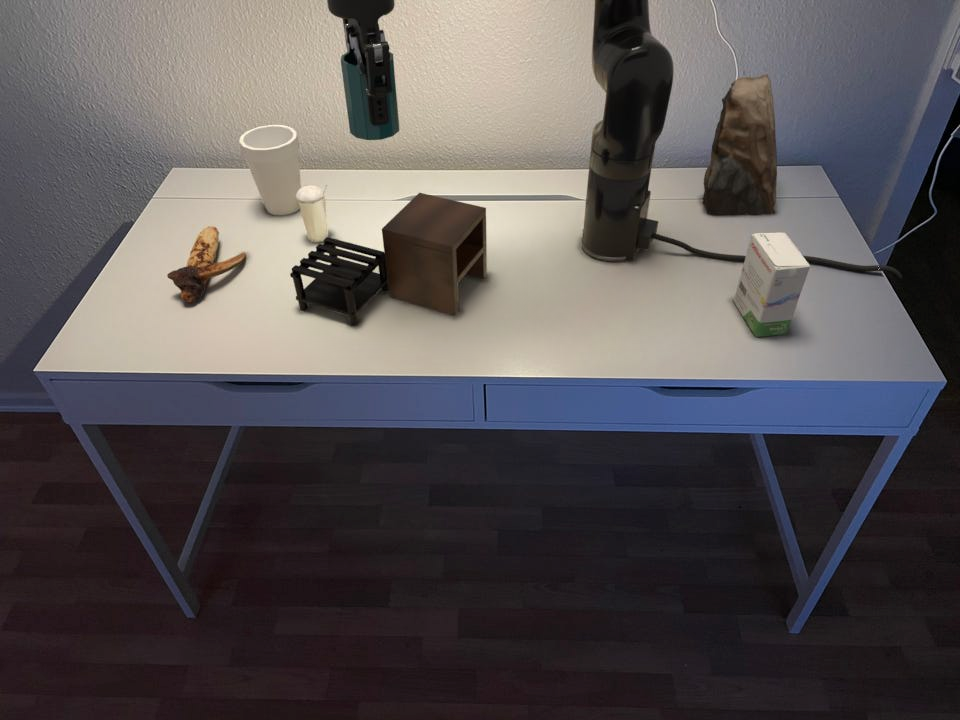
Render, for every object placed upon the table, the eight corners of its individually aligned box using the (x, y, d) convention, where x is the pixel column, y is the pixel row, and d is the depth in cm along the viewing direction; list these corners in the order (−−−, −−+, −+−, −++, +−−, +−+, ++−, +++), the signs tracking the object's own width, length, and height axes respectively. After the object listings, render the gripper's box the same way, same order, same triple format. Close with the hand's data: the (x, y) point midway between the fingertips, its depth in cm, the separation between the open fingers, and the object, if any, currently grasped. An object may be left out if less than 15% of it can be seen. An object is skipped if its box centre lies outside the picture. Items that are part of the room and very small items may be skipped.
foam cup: (321, 201, 129) (308, 132, 121) (285, 225, 124) (269, 155, 115) (282, 188, 133) (267, 120, 124) (246, 210, 128) (227, 141, 119)
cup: (408, 124, 93) (402, 52, 87) (383, 143, 89) (376, 69, 82) (367, 115, 95) (358, 45, 89) (340, 134, 91) (330, 61, 84)
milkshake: (331, 246, 119) (321, 192, 112) (300, 243, 119) (288, 189, 113) (340, 231, 122) (331, 178, 115) (310, 228, 123) (299, 175, 116)
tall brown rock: (701, 216, 123) (726, 102, 110) (685, 180, 133) (706, 71, 119) (775, 215, 123) (809, 100, 110) (753, 179, 133) (782, 69, 119)
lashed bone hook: (232, 307, 108) (253, 238, 121) (225, 282, 104) (247, 214, 117) (168, 308, 107) (196, 239, 120) (159, 283, 104) (189, 215, 117)
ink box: (788, 335, 100) (813, 265, 92) (753, 337, 100) (776, 268, 92) (763, 297, 107) (785, 229, 99) (731, 300, 106) (750, 232, 98)
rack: (391, 288, 110) (386, 249, 105) (355, 326, 103) (348, 287, 98) (336, 273, 113) (328, 235, 108) (298, 309, 106) (289, 270, 102)
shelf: (487, 275, 112) (486, 207, 104) (455, 316, 105) (451, 246, 96) (424, 259, 115) (419, 192, 107) (390, 297, 108) (381, 228, 100)
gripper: (407, -22, 75) (417, 131, 86) (375, -54, 85) (387, 87, 96) (336, -14, 73) (356, 141, 84) (311, -48, 83) (332, 95, 94)
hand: (372, 112), depth 90 cm, fingers closed on cup, 6 cm apart
